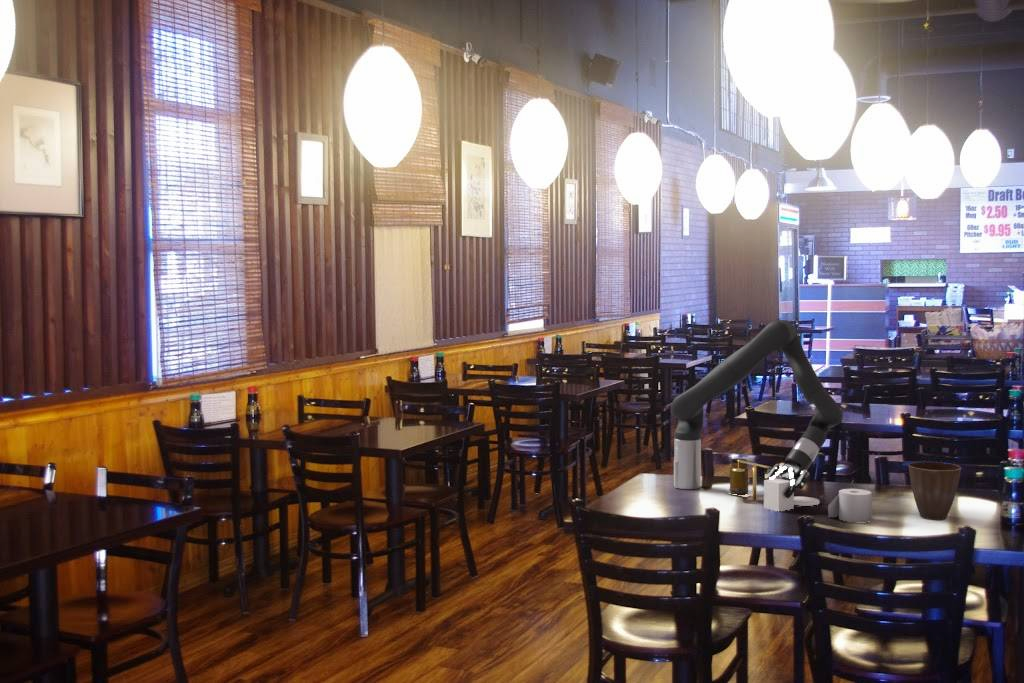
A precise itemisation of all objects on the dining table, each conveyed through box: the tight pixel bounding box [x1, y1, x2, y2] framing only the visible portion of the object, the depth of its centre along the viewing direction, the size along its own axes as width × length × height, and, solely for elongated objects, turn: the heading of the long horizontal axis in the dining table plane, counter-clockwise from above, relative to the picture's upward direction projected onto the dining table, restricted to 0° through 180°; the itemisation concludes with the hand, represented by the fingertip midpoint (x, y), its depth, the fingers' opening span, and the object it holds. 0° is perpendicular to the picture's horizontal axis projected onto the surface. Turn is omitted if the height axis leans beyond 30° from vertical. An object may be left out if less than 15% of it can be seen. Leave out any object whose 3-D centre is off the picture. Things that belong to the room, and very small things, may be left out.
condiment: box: [729, 458, 749, 495], centre depth 354 cm, size 7×8×12 cm
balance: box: [732, 460, 773, 504], centre depth 342 cm, size 15×5×14 cm, turn 85°
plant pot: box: [908, 461, 962, 521], centre depth 317 cm, size 15×15×16 cm
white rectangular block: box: [763, 477, 795, 513], centre depth 331 cm, size 6×6×9 cm
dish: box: [794, 495, 820, 507], centre depth 339 cm, size 11×11×1 cm
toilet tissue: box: [827, 488, 873, 523], centre depth 315 cm, size 9×13×9 cm
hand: (776, 494), depth 330 cm, fingers open, 8 cm apart
